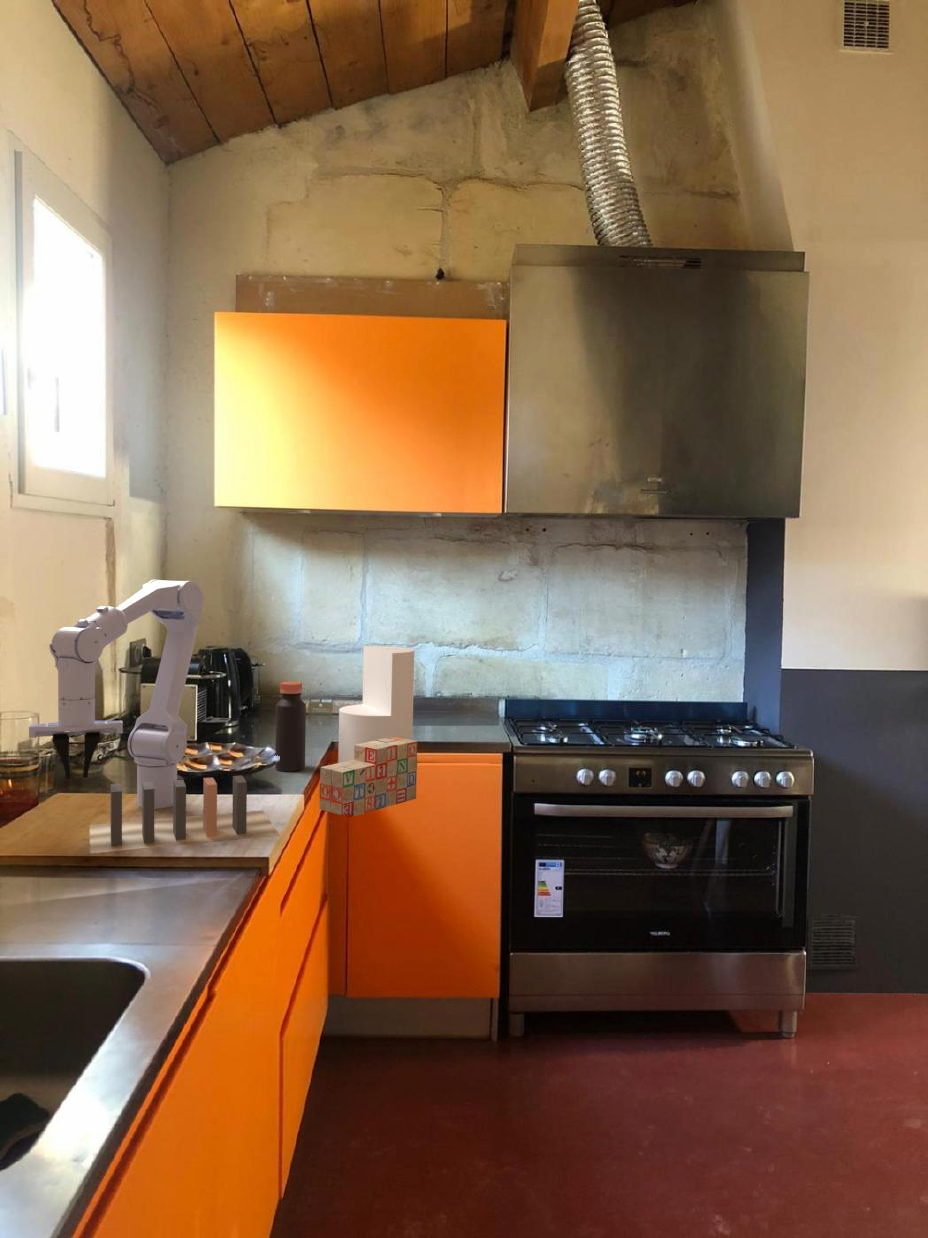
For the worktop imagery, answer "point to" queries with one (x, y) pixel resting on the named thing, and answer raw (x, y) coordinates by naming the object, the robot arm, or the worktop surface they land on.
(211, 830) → the domino
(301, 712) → the bottle
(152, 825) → the domino
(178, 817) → the domino
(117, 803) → the domino
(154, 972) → the worktop surface
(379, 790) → the stack of blocks
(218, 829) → the birch board
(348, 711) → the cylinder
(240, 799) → the end domino
